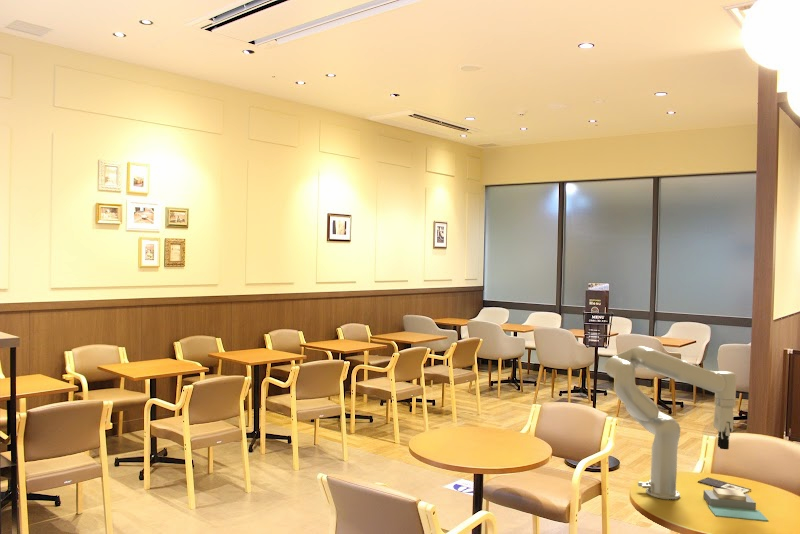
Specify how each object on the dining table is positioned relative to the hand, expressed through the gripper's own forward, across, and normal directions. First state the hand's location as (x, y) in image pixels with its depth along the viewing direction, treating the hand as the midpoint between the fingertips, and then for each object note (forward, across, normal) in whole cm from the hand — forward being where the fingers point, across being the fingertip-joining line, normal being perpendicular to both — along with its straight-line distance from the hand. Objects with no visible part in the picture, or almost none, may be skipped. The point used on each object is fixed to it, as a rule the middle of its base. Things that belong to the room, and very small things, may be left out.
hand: (723, 447), depth 266 cm
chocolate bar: (+20, -12, +4) cm, 24 cm away
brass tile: (+16, +10, 0) cm, 19 cm away
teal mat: (+19, +20, 0) cm, 28 cm away
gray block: (+19, +10, 0) cm, 22 cm away
